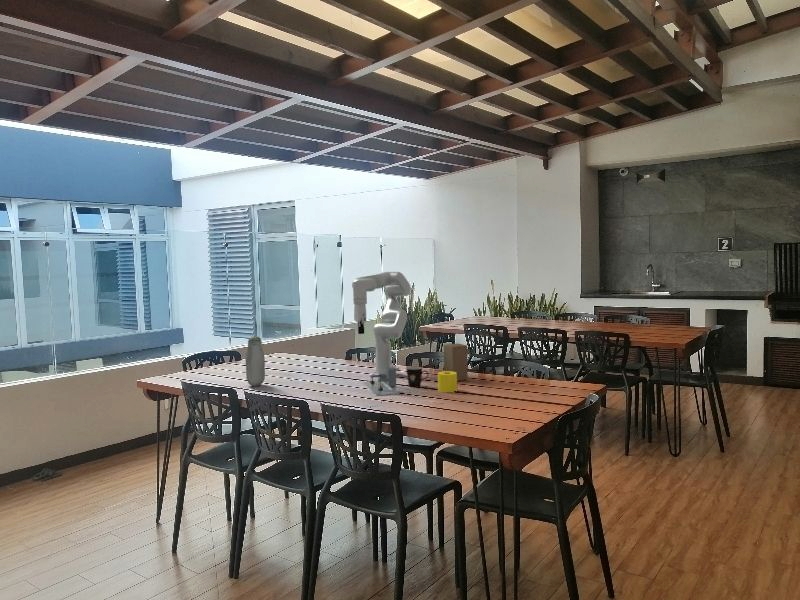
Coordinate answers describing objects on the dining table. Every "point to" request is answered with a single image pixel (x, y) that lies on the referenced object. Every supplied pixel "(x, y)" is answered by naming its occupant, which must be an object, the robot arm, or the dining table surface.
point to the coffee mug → (415, 376)
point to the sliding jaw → (389, 377)
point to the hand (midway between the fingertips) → (361, 333)
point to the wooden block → (456, 360)
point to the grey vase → (255, 362)
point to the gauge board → (384, 388)
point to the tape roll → (447, 381)
